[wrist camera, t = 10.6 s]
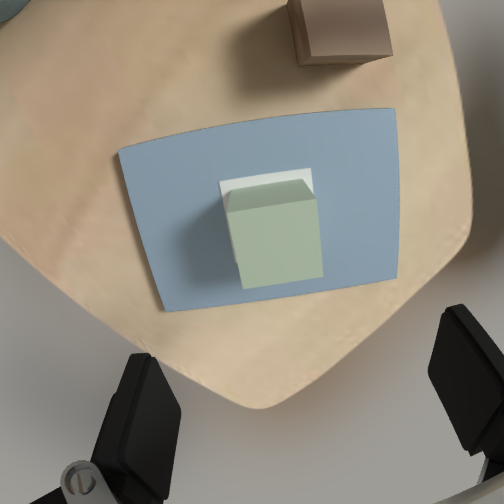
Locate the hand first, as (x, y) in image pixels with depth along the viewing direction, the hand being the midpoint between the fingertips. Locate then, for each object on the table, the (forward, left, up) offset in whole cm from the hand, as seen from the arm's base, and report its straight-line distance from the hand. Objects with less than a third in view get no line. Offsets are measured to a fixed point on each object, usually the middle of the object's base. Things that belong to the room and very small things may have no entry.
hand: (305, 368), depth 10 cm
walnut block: (-13, +6, -16) cm, 21 cm away
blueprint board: (0, 0, -16) cm, 16 cm away
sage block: (0, 0, -15) cm, 15 cm away
